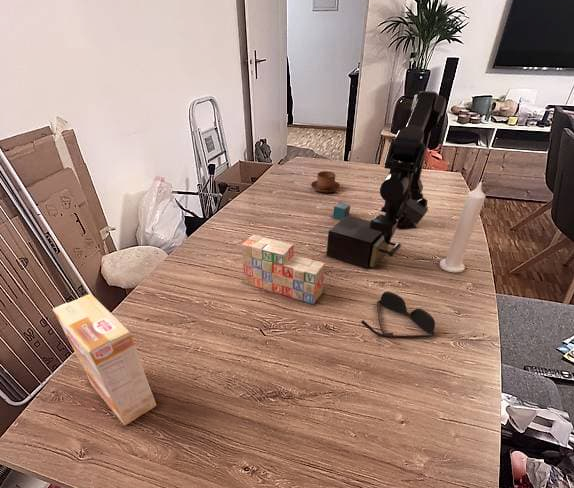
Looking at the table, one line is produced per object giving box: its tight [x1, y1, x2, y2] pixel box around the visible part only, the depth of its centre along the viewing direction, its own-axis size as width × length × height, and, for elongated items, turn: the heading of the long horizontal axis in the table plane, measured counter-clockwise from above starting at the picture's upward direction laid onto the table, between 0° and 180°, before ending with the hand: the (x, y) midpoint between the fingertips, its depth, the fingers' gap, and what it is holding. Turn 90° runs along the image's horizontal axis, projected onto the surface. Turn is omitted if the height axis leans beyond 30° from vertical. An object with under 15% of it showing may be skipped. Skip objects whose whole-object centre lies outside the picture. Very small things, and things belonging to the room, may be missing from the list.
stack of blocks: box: [241, 234, 326, 305], centre depth 99 cm, size 21×6×12 cm, turn 62°
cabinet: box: [325, 215, 383, 270], centre depth 115 cm, size 14×13×9 cm
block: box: [332, 202, 351, 221], centre depth 136 cm, size 4×4×4 cm
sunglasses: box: [361, 291, 436, 339], centre depth 89 cm, size 17×14×5 cm
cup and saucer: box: [310, 170, 341, 193], centre depth 155 cm, size 12×12×6 cm
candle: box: [439, 181, 486, 274], centre depth 104 cm, size 7×7×25 cm
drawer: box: [369, 233, 402, 268], centre depth 113 cm, size 17×11×7 cm
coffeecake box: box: [52, 293, 157, 426], centre depth 69 cm, size 15×7×20 cm, turn 45°
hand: (387, 242), depth 109 cm, fingers closed
